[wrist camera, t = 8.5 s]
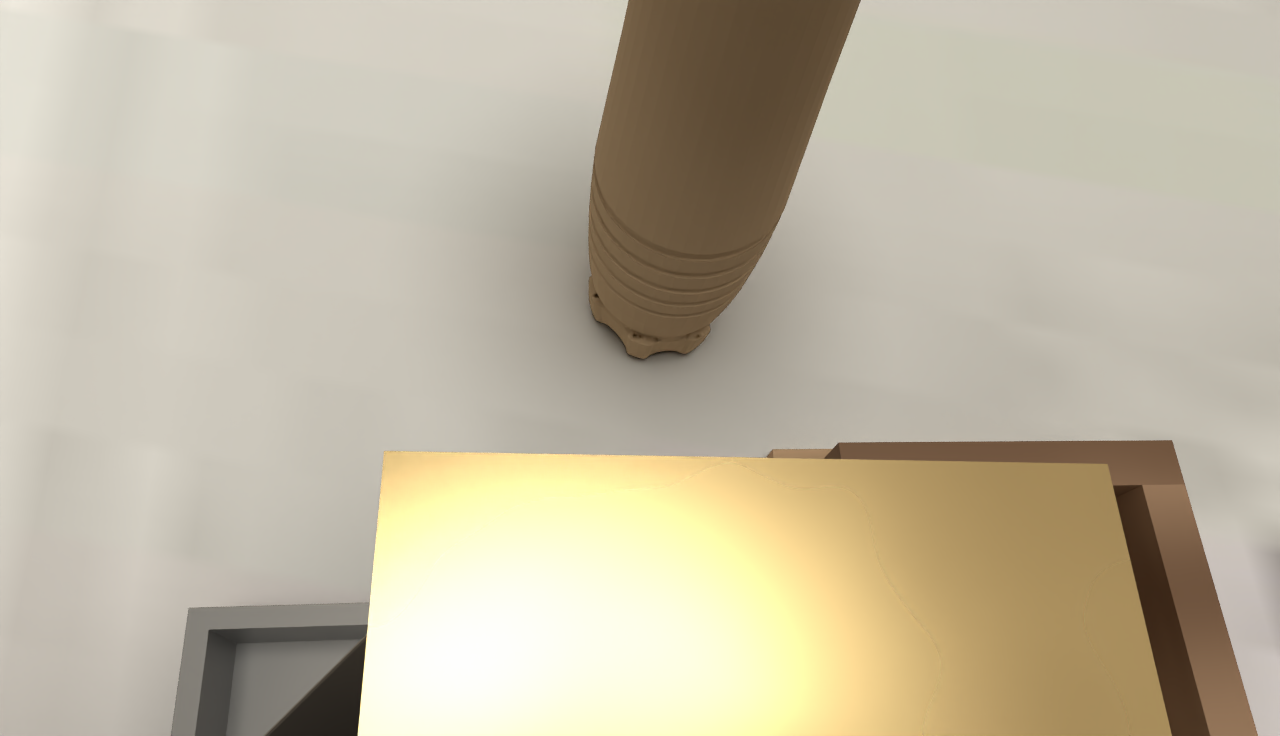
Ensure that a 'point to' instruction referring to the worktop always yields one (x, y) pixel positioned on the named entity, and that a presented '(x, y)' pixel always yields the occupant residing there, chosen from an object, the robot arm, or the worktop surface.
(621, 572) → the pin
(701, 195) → the handle
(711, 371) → the worktop surface
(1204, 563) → the holder
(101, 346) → the worktop surface
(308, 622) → the tray
